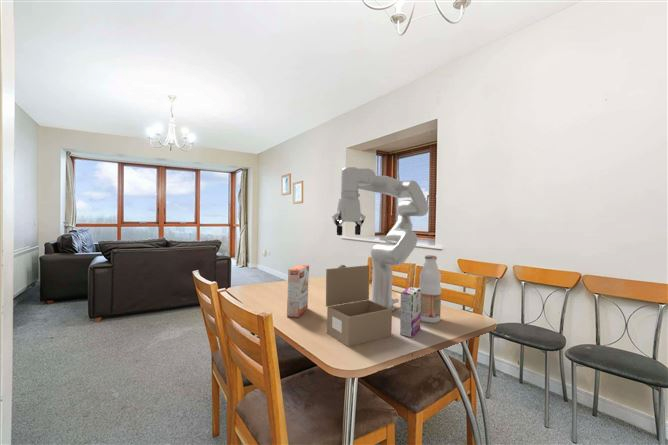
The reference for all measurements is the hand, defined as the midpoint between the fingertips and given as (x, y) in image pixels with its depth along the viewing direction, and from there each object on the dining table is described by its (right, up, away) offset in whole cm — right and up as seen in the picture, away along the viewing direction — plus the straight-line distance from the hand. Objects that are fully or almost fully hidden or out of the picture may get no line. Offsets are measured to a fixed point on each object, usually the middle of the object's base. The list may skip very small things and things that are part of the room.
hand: (348, 235), depth 133 cm
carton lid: (0, -19, -12) cm, 23 cm away
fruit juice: (+35, -37, 0) cm, 51 cm away
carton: (+3, -37, -18) cm, 41 cm away
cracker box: (-23, -36, +6) cm, 43 cm away
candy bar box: (+23, -38, -14) cm, 46 cm away
